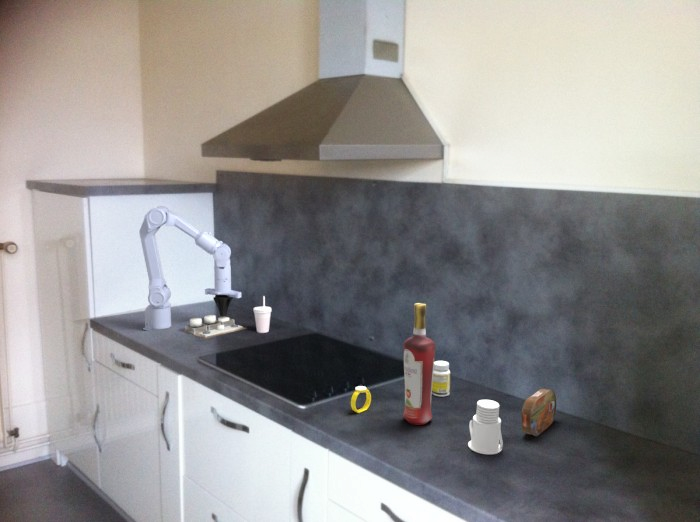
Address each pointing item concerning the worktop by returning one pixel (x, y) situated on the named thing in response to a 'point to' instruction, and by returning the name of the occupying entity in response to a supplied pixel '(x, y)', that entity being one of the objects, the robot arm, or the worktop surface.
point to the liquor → (418, 371)
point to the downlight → (486, 428)
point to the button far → (223, 319)
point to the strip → (220, 330)
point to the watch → (353, 400)
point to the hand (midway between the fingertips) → (223, 315)
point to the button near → (195, 322)
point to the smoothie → (262, 317)
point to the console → (210, 328)
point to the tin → (538, 412)
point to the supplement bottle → (441, 379)
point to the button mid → (209, 319)
